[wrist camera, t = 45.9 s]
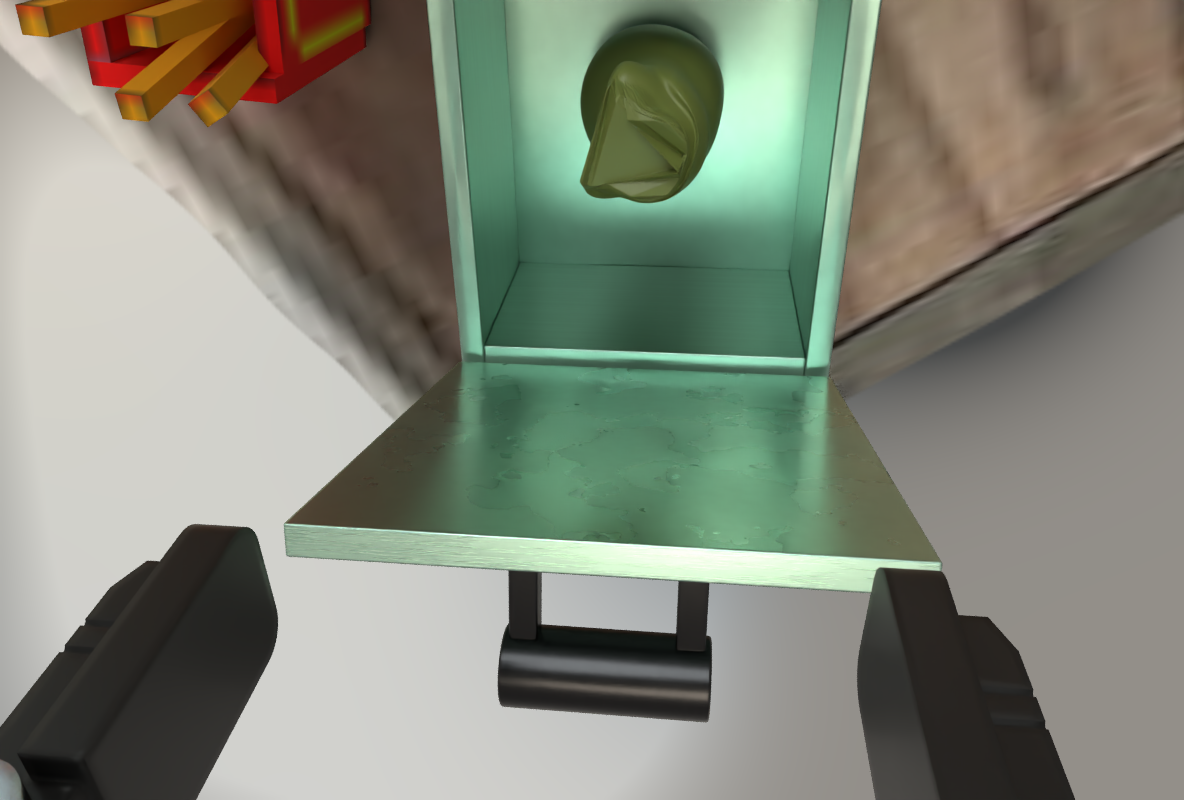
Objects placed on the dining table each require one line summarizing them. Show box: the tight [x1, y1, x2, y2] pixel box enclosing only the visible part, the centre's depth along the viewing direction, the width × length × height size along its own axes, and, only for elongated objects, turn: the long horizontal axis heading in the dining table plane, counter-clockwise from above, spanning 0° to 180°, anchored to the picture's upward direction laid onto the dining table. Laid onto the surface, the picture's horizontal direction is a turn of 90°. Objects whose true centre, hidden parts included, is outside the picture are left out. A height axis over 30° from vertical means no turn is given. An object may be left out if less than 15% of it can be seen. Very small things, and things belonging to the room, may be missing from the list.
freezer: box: [426, 0, 882, 377], centre depth 34 cm, size 15×14×9 cm
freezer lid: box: [284, 362, 942, 722], centre depth 27 cm, size 16×14×5 cm
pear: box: [580, 24, 724, 203], centre depth 32 cm, size 6×5×10 cm
